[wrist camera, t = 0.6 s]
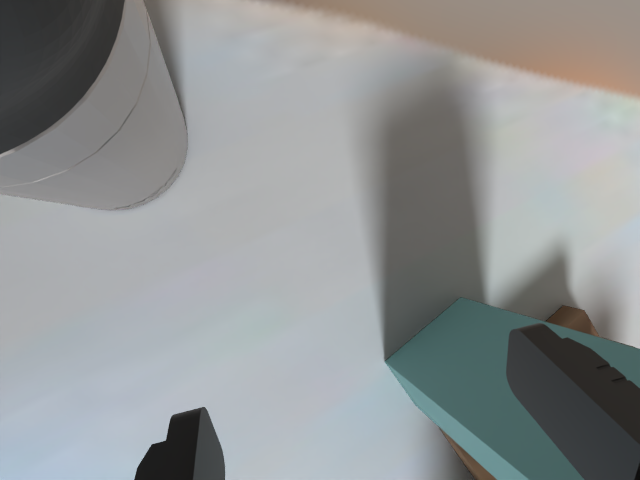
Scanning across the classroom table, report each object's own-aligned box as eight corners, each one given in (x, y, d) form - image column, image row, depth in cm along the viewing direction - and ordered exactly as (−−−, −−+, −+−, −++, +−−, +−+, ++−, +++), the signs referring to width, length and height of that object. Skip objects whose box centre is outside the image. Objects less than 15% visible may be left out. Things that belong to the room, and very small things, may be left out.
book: (384, 361, 30) (562, 506, 14) (462, 296, 31) (699, 363, 16) (415, 405, 31) (615, 587, 15) (489, 339, 32) (741, 443, 17)
